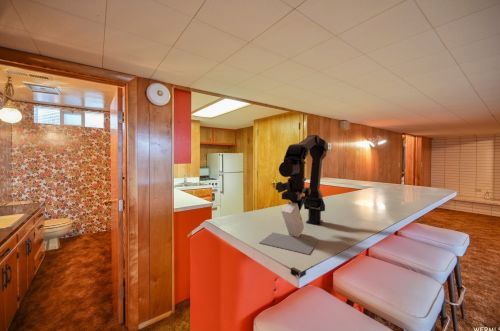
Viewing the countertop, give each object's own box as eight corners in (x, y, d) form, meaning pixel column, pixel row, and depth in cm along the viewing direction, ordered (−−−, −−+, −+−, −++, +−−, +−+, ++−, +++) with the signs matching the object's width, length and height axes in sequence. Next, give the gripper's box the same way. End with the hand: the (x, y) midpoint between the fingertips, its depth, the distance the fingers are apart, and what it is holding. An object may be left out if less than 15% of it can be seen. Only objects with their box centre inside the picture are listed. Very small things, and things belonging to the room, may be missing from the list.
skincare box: (298, 238, 79) (291, 213, 75) (288, 235, 82) (280, 211, 78) (304, 227, 83) (298, 203, 79) (294, 224, 86) (287, 201, 82)
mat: (273, 233, 85) (273, 232, 85) (318, 241, 75) (318, 241, 75) (259, 243, 74) (259, 242, 74) (309, 254, 65) (309, 254, 65)
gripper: (286, 173, 95) (286, 207, 95) (268, 176, 79) (268, 217, 79) (311, 174, 89) (310, 210, 89) (297, 177, 73) (297, 221, 73)
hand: (297, 214), depth 83 cm, fingers closed
